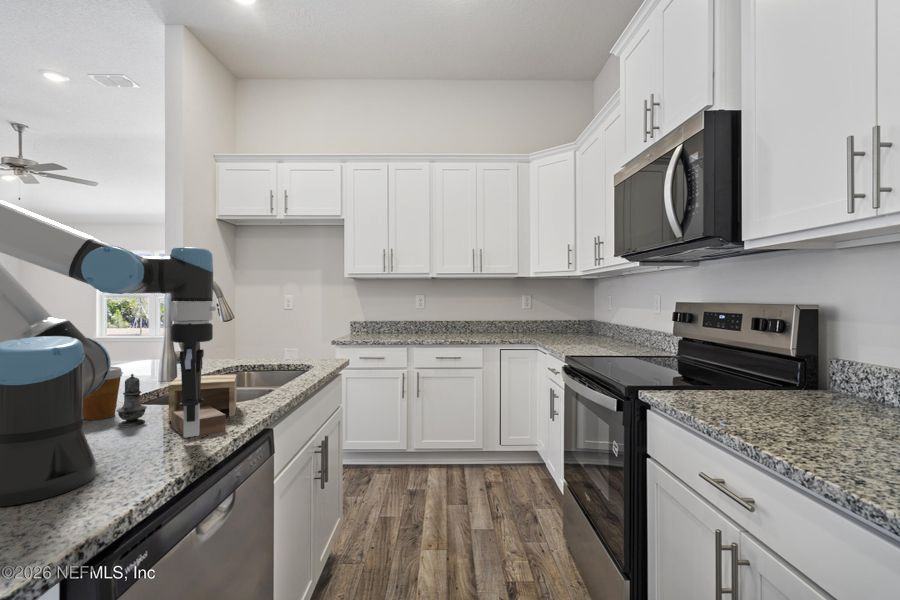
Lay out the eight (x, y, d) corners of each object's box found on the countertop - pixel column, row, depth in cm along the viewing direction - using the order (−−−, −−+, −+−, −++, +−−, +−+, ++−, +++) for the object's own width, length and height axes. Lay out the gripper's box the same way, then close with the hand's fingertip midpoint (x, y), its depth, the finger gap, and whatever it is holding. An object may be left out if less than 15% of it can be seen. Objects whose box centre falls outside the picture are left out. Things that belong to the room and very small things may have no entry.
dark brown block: (225, 432, 100) (225, 414, 100) (185, 439, 94) (186, 421, 94) (208, 421, 108) (208, 405, 108) (171, 427, 103) (171, 411, 103)
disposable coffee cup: (70, 424, 104) (71, 373, 104) (78, 414, 112) (79, 368, 112) (120, 418, 109) (120, 370, 109) (124, 410, 117) (125, 365, 117)
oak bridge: (234, 416, 112) (234, 381, 112) (168, 422, 106) (168, 385, 106) (236, 406, 122) (236, 374, 122) (176, 411, 116) (176, 377, 116)
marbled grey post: (142, 425, 103) (143, 374, 103) (112, 428, 101) (113, 376, 101) (149, 419, 109) (150, 371, 108) (121, 421, 106) (121, 372, 106)
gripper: (209, 323, 86) (208, 442, 86) (215, 320, 98) (214, 425, 98) (164, 324, 83) (164, 447, 83) (176, 321, 95) (175, 429, 95)
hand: (191, 435), depth 91 cm, fingers closed
